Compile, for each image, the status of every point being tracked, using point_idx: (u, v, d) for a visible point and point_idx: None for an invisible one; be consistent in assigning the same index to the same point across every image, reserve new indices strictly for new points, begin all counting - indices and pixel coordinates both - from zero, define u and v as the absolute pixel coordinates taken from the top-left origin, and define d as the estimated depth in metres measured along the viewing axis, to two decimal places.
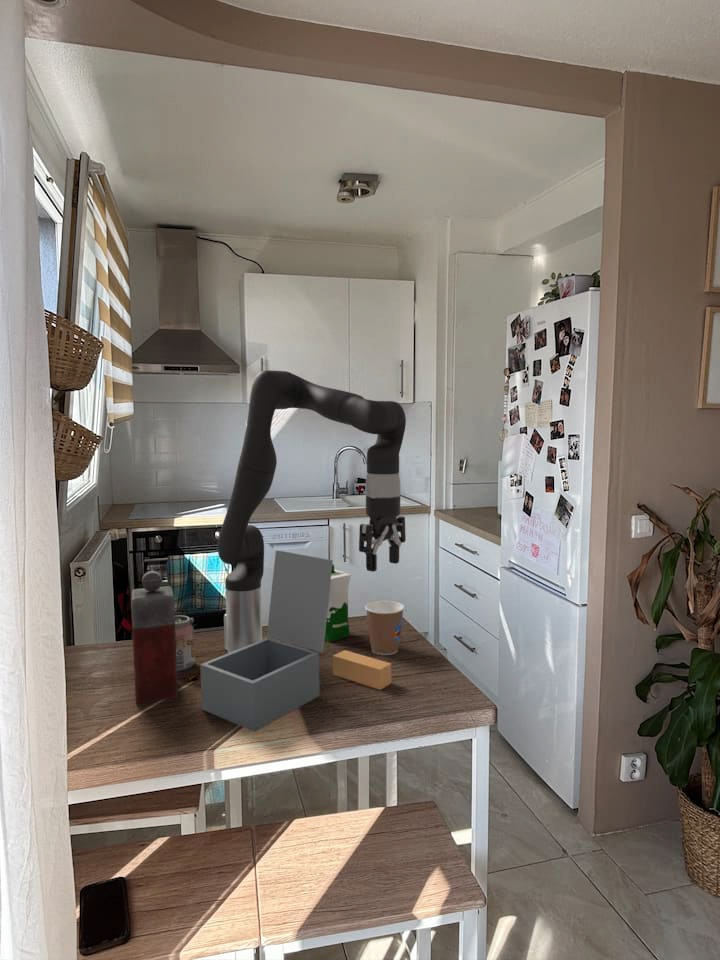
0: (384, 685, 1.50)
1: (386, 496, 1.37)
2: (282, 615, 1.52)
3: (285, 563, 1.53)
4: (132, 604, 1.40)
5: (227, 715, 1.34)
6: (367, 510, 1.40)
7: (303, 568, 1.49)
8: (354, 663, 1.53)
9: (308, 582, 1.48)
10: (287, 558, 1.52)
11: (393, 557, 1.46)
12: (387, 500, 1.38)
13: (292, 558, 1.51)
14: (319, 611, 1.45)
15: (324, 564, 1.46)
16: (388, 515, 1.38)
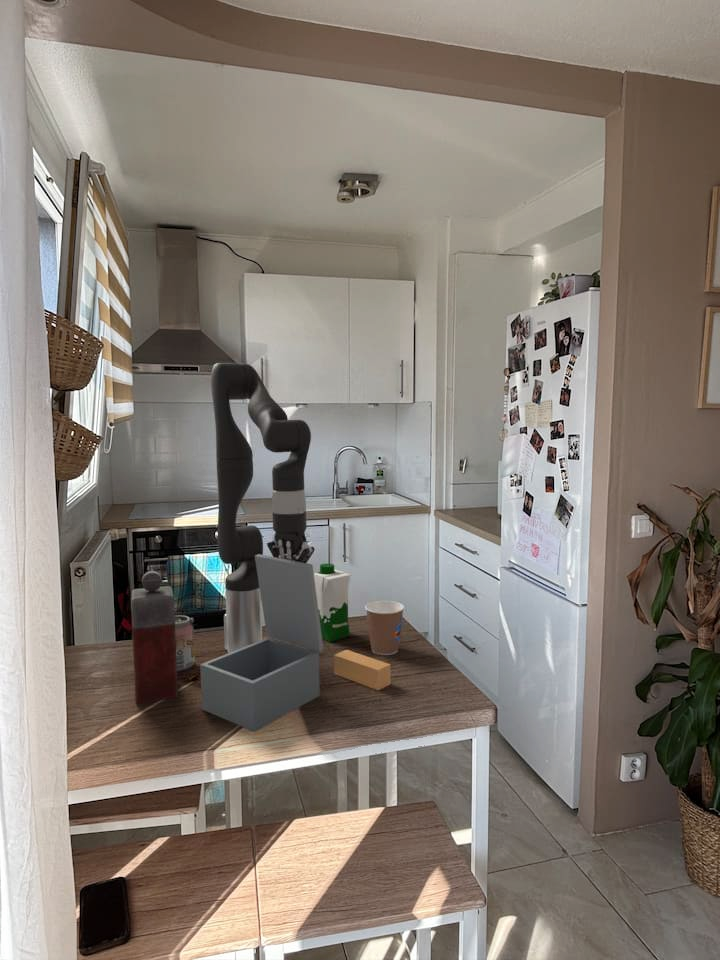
0: (382, 686, 1.50)
1: None
2: (276, 617, 1.50)
3: (267, 568, 1.48)
4: (132, 604, 1.40)
5: (227, 715, 1.34)
6: (295, 527, 1.43)
7: (285, 573, 1.45)
8: (353, 663, 1.53)
9: (293, 587, 1.44)
10: (267, 563, 1.47)
11: None
12: None
13: (272, 563, 1.46)
14: (310, 614, 1.43)
15: (305, 570, 1.40)
16: None
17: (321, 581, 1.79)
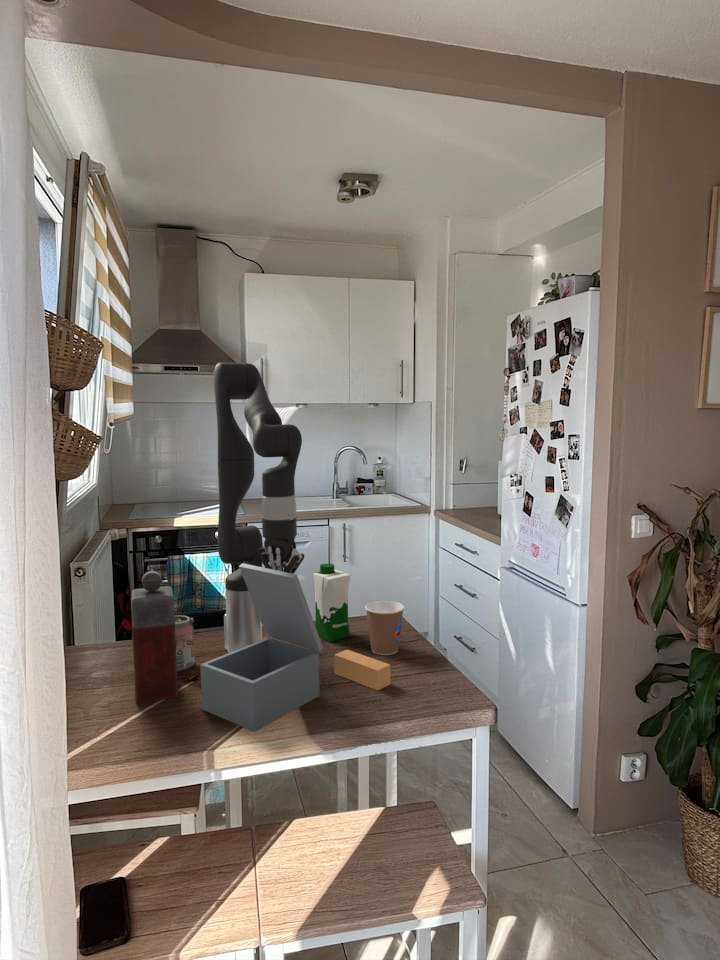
0: (382, 686, 1.50)
1: None
2: (272, 620, 1.49)
3: (253, 577, 1.45)
4: (132, 604, 1.40)
5: (227, 715, 1.34)
6: (284, 533, 1.40)
7: (272, 583, 1.41)
8: (353, 663, 1.53)
9: (283, 595, 1.42)
10: (253, 573, 1.44)
11: None
12: None
13: (257, 574, 1.43)
14: (304, 620, 1.41)
15: (290, 581, 1.37)
16: None
17: (321, 581, 1.79)
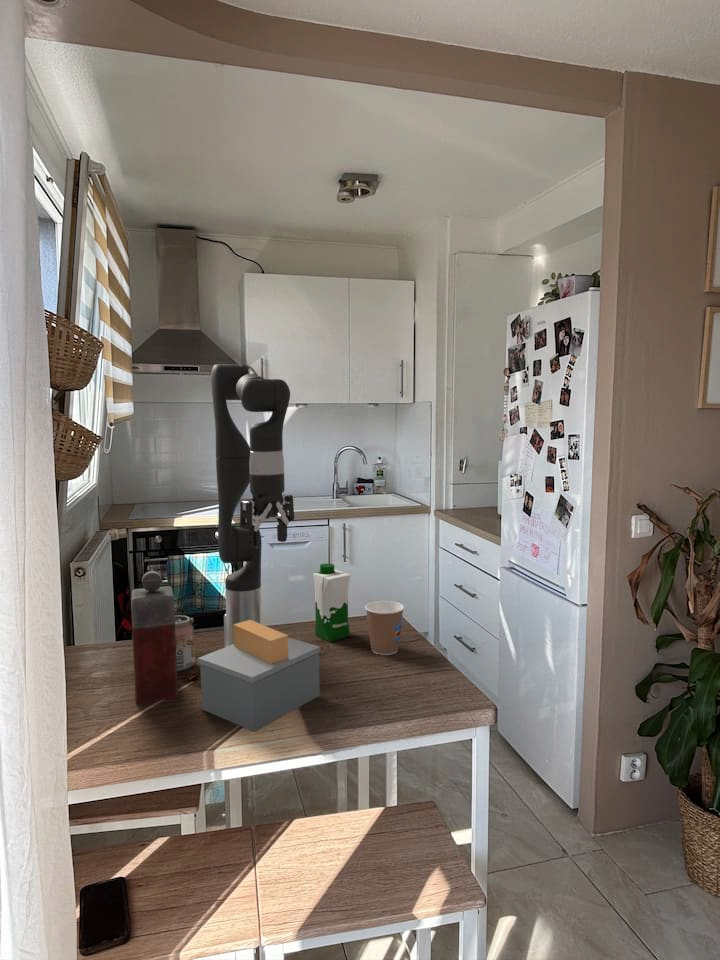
0: (277, 658, 1.36)
1: None
2: None
3: None
4: (132, 604, 1.40)
5: (227, 715, 1.34)
6: None
7: None
8: (250, 633, 1.40)
9: None
10: None
11: None
12: None
13: None
14: None
15: None
16: None
17: (321, 581, 1.79)
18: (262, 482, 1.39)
